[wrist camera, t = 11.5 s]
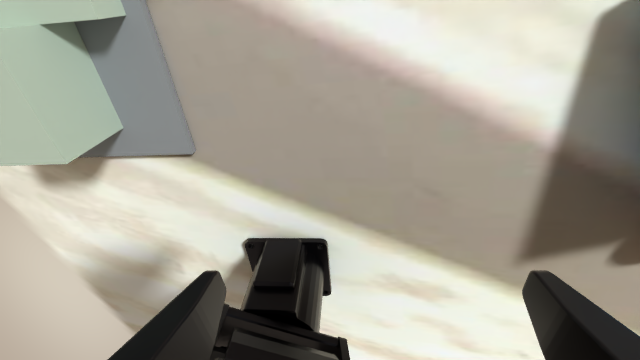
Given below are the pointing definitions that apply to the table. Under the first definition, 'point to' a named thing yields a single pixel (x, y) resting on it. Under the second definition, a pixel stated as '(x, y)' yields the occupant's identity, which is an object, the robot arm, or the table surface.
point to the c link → (51, 82)
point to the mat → (136, 85)
